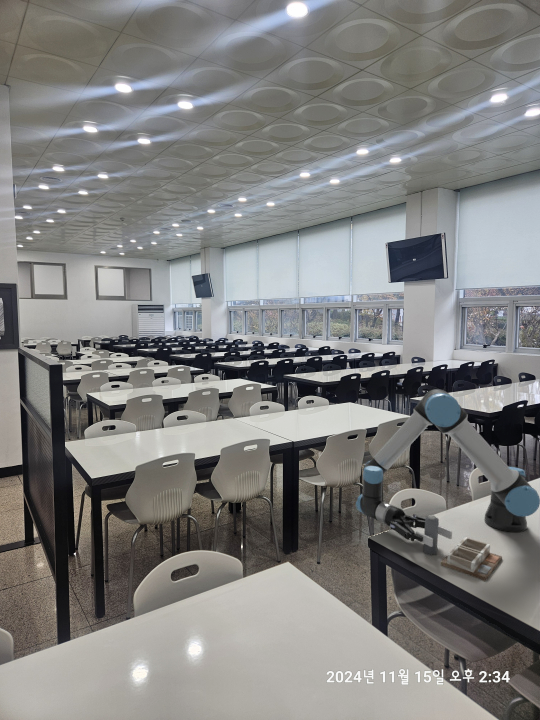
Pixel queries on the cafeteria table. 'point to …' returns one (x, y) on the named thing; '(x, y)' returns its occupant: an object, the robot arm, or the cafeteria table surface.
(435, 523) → the plug
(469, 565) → the socket board
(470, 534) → the cafeteria table surface
